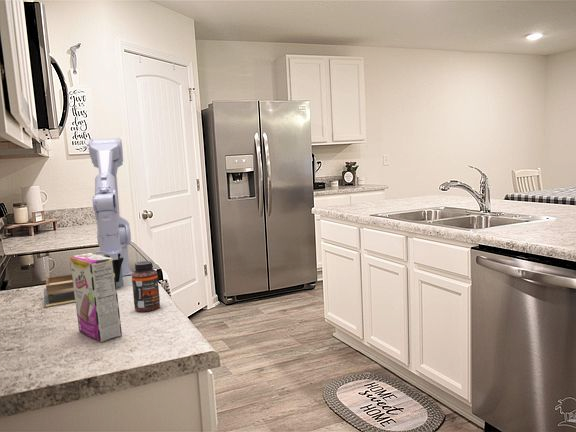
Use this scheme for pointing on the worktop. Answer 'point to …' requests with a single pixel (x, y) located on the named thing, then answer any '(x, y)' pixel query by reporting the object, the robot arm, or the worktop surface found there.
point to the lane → (59, 299)
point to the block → (120, 283)
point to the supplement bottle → (145, 287)
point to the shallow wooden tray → (58, 285)
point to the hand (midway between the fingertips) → (114, 280)
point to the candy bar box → (96, 296)
